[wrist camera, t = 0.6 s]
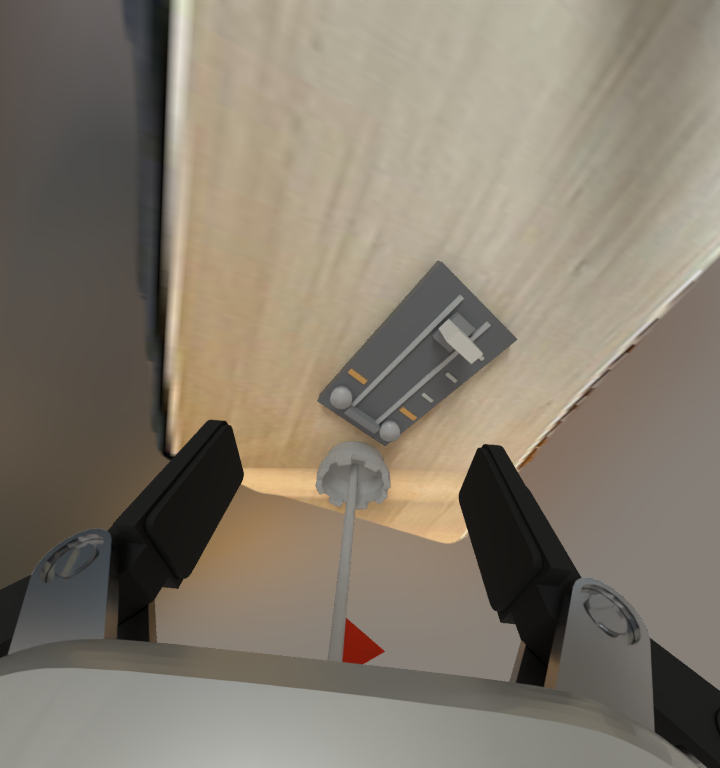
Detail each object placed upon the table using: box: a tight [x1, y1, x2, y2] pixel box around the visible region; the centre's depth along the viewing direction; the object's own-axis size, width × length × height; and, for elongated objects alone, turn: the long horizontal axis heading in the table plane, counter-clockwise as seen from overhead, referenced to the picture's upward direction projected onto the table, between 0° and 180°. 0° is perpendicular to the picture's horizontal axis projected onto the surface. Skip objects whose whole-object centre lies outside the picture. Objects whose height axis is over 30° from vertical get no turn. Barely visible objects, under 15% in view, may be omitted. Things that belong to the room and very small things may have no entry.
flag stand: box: [316, 441, 391, 664], centre depth 35 cm, size 13×13×30 cm
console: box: [317, 261, 517, 446], centre depth 36 cm, size 25×14×4 cm, turn 141°
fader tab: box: [432, 312, 483, 364], centre depth 30 cm, size 4×4×6 cm
